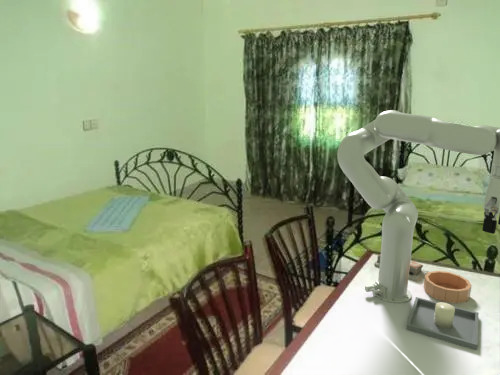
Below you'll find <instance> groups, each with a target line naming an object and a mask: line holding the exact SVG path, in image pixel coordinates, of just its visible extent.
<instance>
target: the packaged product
mask: <svg viewBox="0 0 500 375" xmlns="http://www.w3.org/2000/svg"><path fill="white" fill-rule="evenodd" d="M380 257H381V253H380V254H379V255H377V260H376V261H375V262H374V266H375V267H377V268H379V267H380ZM423 267H424V265H423V264H421V263H419V262H416V261H414V260H411V261H410V270H409V278H408V280H411V281H414V282H417V281H419V280H421V279H423V278H425V275H426V274H427V273H428V272H430V271H429V270H425V269H423Z"/></svg>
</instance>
